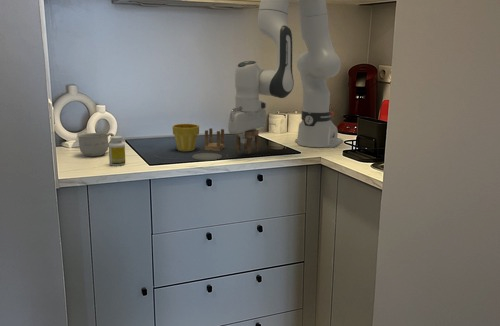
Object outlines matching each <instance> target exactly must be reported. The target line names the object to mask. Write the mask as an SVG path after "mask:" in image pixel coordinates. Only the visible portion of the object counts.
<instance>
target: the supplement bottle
mask: <svg viewBox="0 0 500 326" xmlns="http://www.w3.org/2000/svg"><path fill="white" fill-rule="evenodd" d="M109 137H110V141H111V143H110V144H109V147H108V159H109V160H108V161H109V165H110V166H111V167H119V166H125V165H126V145H125V143H124V142H123V136H121V135H114V136H112V137H111V136H109Z"/></svg>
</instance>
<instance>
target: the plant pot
mask: <svg viewBox="0 0 500 326" xmlns="http://www.w3.org/2000/svg"><path fill="white" fill-rule="evenodd" d="M172 134H173V135H174V139H175V143H176V148H177V151H180V152H192V151H194V150H195V149H196V145H197V144H196V143H197V139H198V135H199V134H200V125H198V124H195V123H177V124H173V125H172Z"/></svg>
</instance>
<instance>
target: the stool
mask: <svg viewBox="0 0 500 326" xmlns="http://www.w3.org/2000/svg"><path fill="white" fill-rule="evenodd" d="M235 136H236V152H237V153H240V152H241V139H240V137H239V134H235ZM244 136H245V138H247V142H246V143H244V144H243V145H244V147H243V149H244V150H247V154H252V141H251V137H254V151H255V152H258V151H259V144H260V143H259V142H260V141H259V137H260V136H259V129H256V130H249V131H246V132H245V135H244Z"/></svg>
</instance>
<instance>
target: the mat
mask: <svg viewBox="0 0 500 326" xmlns="http://www.w3.org/2000/svg"><path fill="white" fill-rule="evenodd" d="M191 157H192V159H194V160H196V161H204V162H205V161H217V159H218V160H220V159H222V158H223V157H222V154H219V153H214V152H199V153H195V154H193V155H192V156H191Z"/></svg>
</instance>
